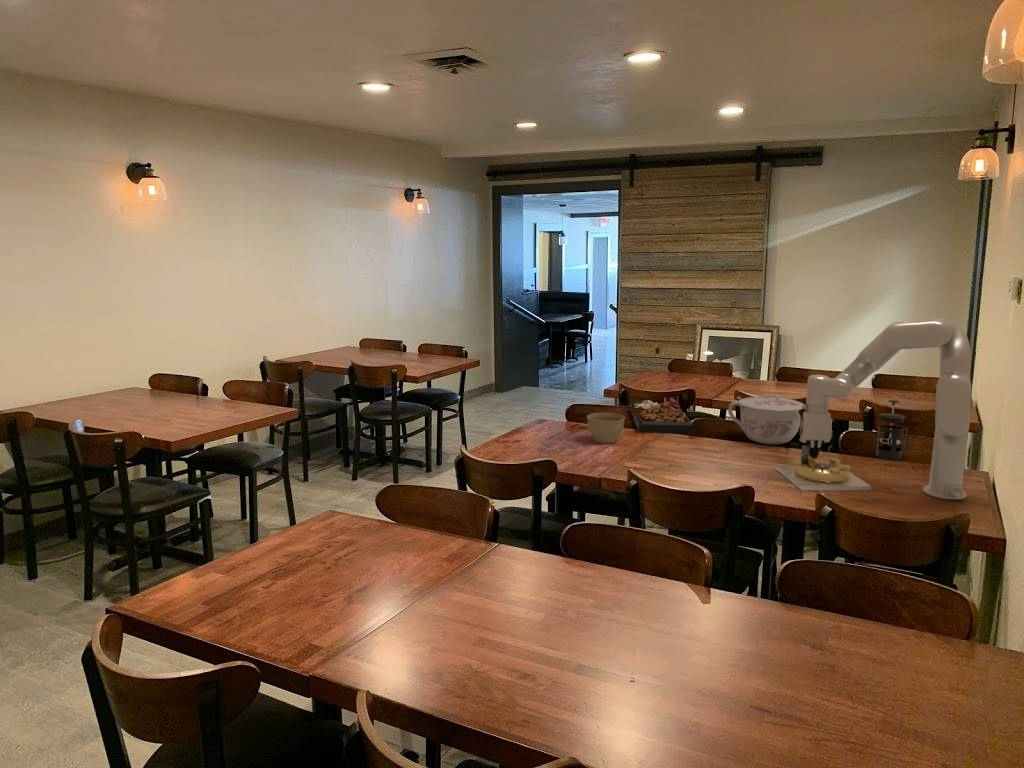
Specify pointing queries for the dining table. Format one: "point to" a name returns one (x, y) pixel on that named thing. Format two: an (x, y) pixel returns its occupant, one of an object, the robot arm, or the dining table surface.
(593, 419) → the planter bowl
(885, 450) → the french press
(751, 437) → the chamber pot
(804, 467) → the gold disc with post
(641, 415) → the food platter
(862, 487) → the base plate
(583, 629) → the dining table surface
